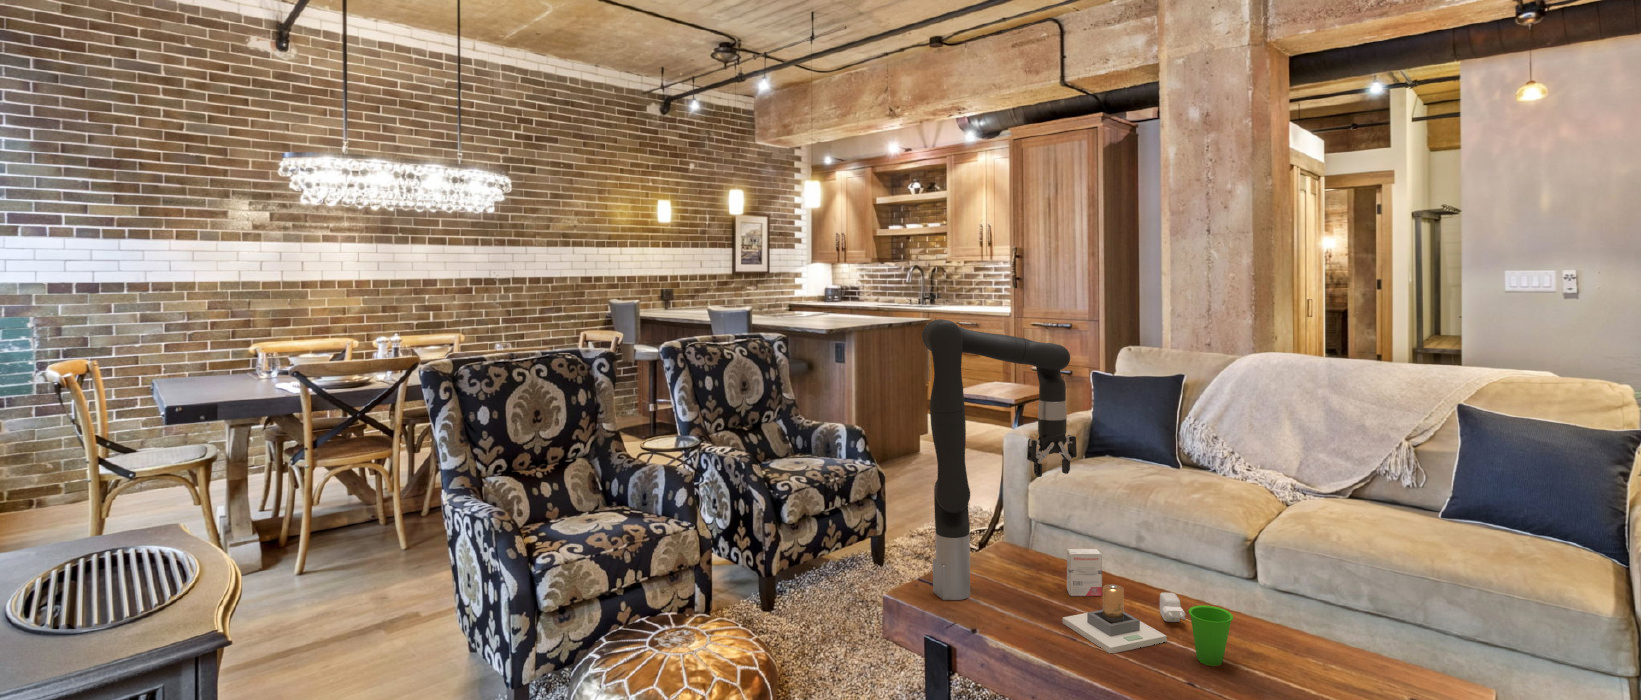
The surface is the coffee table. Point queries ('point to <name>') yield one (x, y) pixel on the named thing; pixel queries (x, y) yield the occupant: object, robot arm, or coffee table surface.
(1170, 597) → the power adapter
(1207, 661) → the cup
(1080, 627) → the board
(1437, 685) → the coffee table surface
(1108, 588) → the battery cell
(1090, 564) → the ink box
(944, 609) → the coffee table surface
